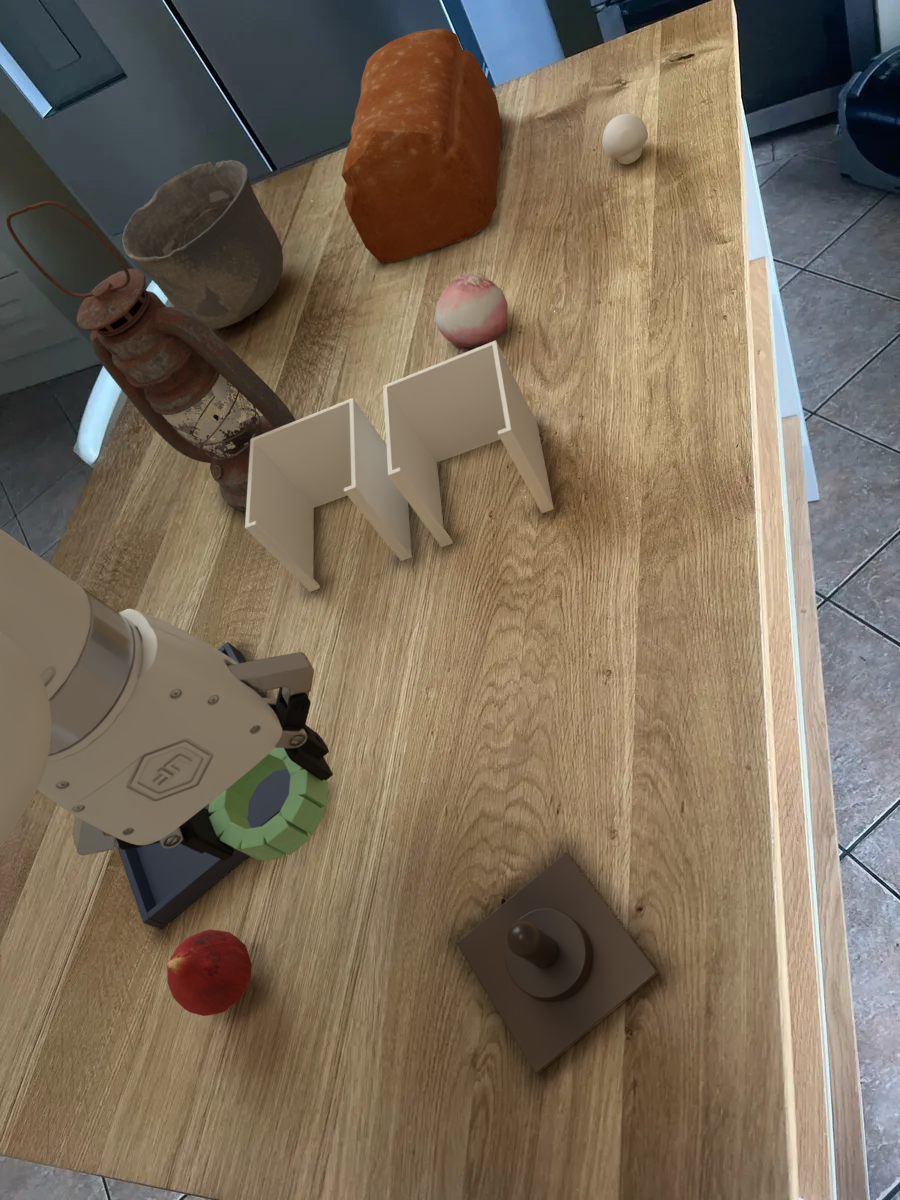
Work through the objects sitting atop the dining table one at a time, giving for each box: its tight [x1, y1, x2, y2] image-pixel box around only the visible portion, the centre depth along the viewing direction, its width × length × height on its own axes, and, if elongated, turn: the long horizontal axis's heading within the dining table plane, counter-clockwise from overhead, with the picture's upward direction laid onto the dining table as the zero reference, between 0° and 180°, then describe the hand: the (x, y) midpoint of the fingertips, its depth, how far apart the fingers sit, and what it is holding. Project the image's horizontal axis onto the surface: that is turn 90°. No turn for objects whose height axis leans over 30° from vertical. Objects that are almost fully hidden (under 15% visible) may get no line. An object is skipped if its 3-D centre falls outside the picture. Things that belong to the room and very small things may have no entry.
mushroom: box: [601, 113, 649, 165], centre depth 100 cm, size 5×5×5 cm
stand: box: [456, 851, 659, 1075], centre depth 58 cm, size 10×10×7 cm
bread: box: [341, 27, 503, 263], centre depth 109 cm, size 17×24×15 cm
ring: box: [208, 747, 329, 862], centre depth 54 cm, size 7×7×2 cm
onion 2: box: [434, 272, 509, 356], centre depth 93 cm, size 8×8×7 cm
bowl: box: [121, 159, 284, 329], centre depth 113 cm, size 18×18×15 cm
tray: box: [117, 641, 290, 930], centre depth 80 cm, size 17×19×2 cm
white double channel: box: [244, 340, 555, 593], centre depth 83 cm, size 25×11×11 cm, turn 95°
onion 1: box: [165, 928, 252, 1017], centre depth 66 cm, size 6×6×8 cm
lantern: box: [5, 200, 296, 512], centre depth 86 cm, size 11×16×35 cm
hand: (270, 798), depth 54 cm, fingers closed on ring, 6 cm apart
